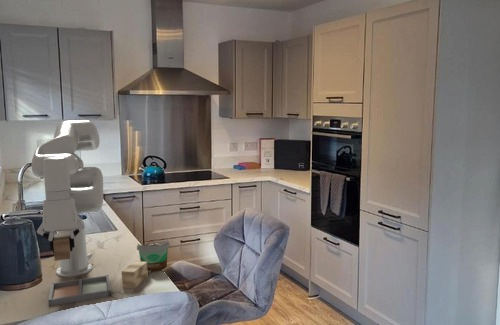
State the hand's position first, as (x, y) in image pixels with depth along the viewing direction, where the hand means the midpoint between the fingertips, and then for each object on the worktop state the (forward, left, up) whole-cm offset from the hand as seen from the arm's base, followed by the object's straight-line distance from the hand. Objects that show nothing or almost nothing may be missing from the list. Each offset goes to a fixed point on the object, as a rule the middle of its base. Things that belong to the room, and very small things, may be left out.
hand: (62, 250), depth 146 cm
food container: (-26, +20, -15) cm, 36 cm away
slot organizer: (-2, +4, -15) cm, 16 cm away
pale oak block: (-13, +18, -15) cm, 27 cm away
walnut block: (0, 0, -2) cm, 2 cm away
